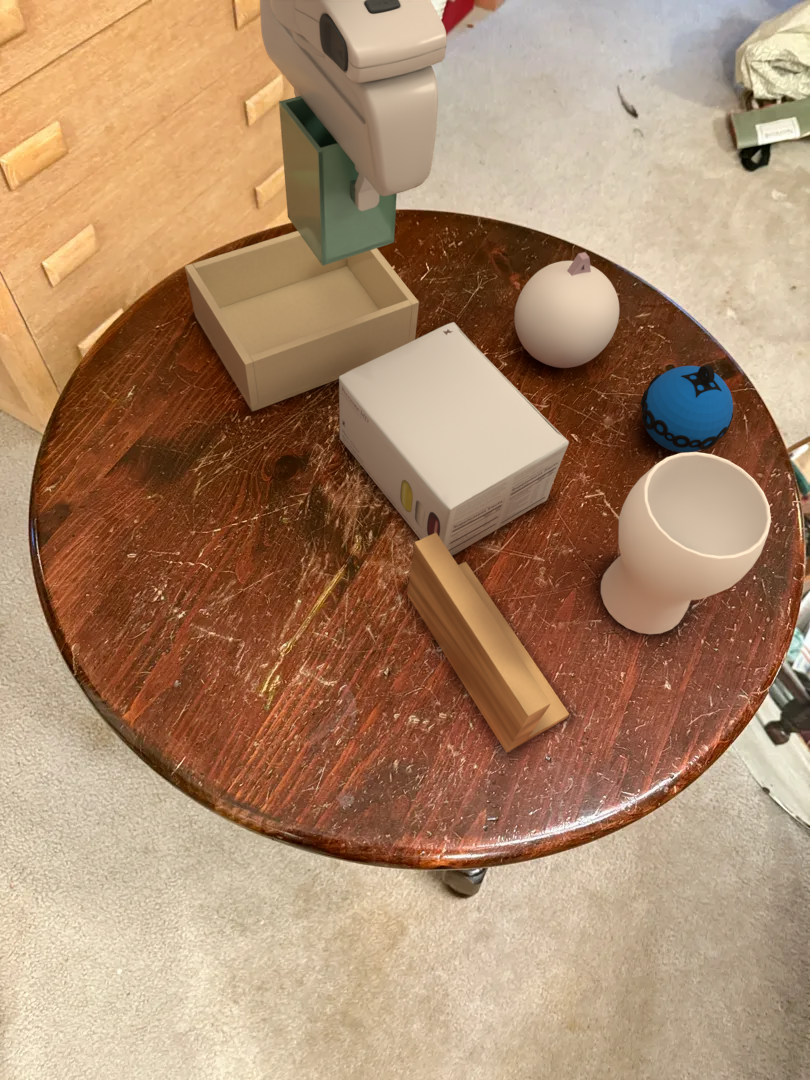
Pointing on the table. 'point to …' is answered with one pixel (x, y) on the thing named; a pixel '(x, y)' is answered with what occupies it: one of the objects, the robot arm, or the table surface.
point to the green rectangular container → (327, 190)
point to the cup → (683, 539)
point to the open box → (298, 315)
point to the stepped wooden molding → (481, 646)
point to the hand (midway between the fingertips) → (340, 173)
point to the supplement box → (448, 438)
